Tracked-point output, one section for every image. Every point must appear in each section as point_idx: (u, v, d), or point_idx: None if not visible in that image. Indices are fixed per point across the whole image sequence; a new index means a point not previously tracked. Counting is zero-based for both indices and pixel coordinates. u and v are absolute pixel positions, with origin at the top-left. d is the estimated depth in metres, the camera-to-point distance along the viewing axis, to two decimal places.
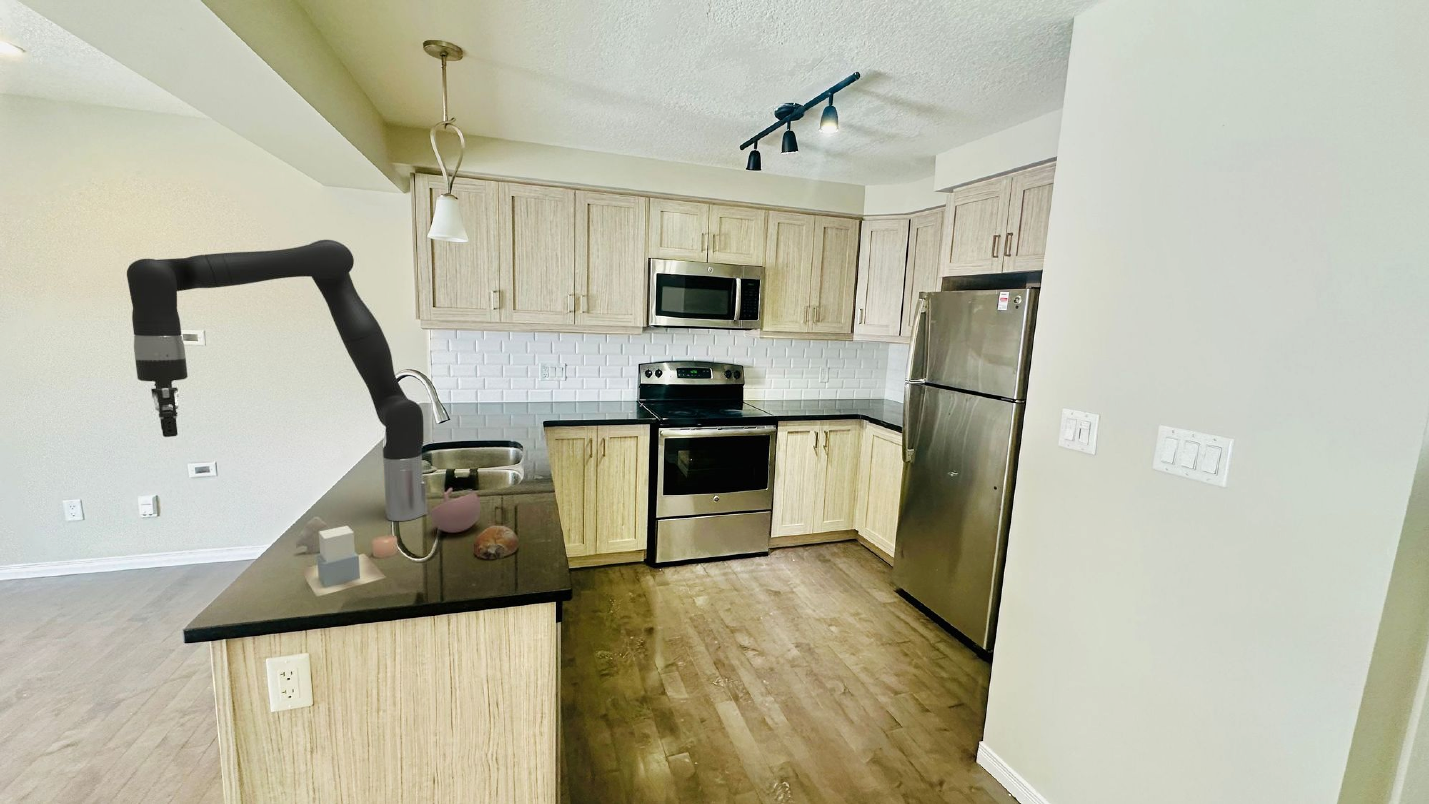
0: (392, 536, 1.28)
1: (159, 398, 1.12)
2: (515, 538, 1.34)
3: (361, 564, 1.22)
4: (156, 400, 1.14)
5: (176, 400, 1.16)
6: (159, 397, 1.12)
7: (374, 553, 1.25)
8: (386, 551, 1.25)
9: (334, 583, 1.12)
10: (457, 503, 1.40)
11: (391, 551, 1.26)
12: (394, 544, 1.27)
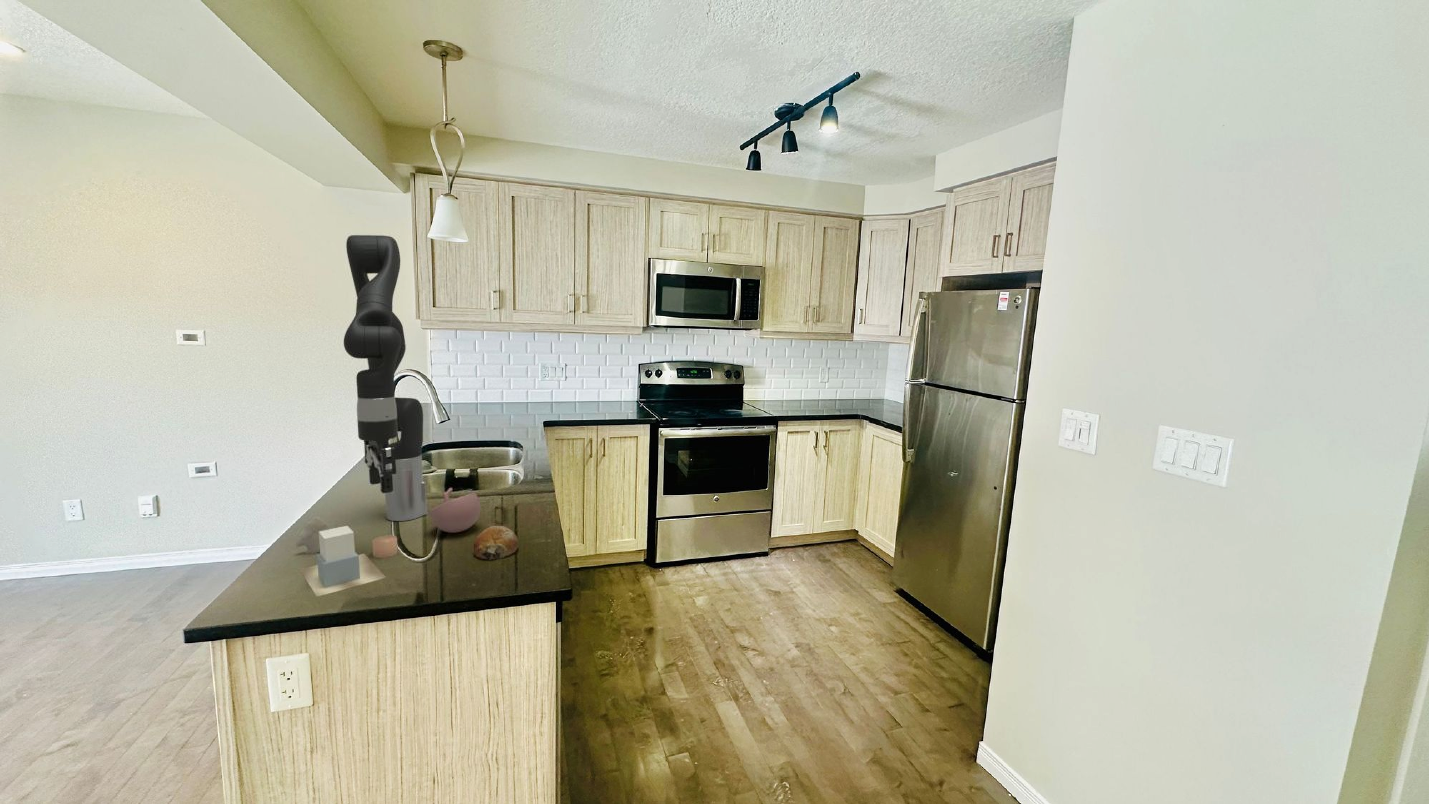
0: (392, 536, 1.28)
1: (383, 458, 1.18)
2: (515, 538, 1.33)
3: (361, 564, 1.22)
4: (376, 458, 1.21)
5: None
6: (383, 457, 1.18)
7: (374, 553, 1.25)
8: (386, 551, 1.25)
9: (334, 583, 1.12)
10: (457, 503, 1.40)
11: (391, 551, 1.26)
12: (394, 544, 1.27)
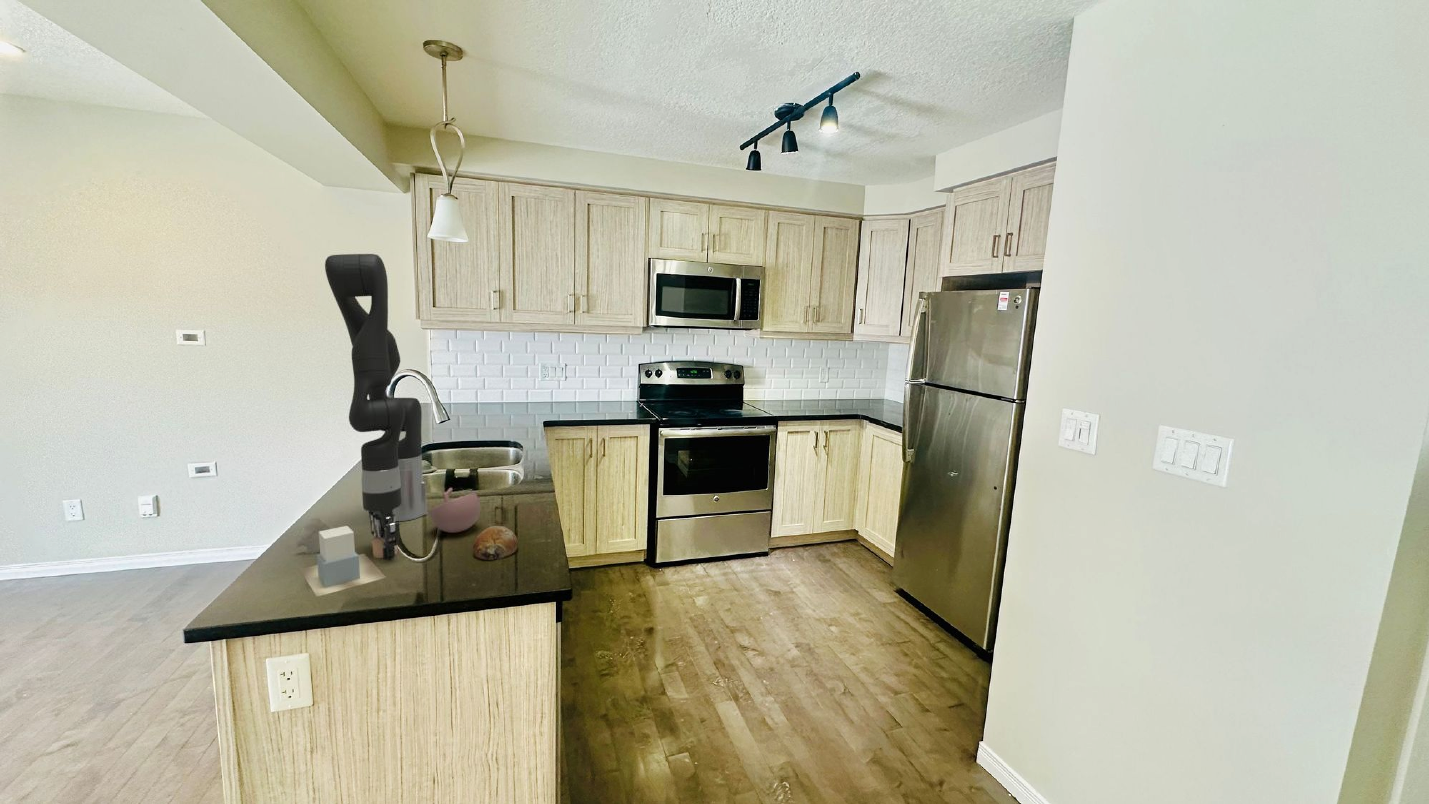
0: None
1: (387, 533, 1.21)
2: (514, 538, 1.33)
3: (361, 564, 1.22)
4: (380, 530, 1.24)
5: None
6: (387, 532, 1.21)
7: (374, 553, 1.25)
8: None
9: (334, 583, 1.12)
10: (457, 503, 1.40)
11: None
12: None
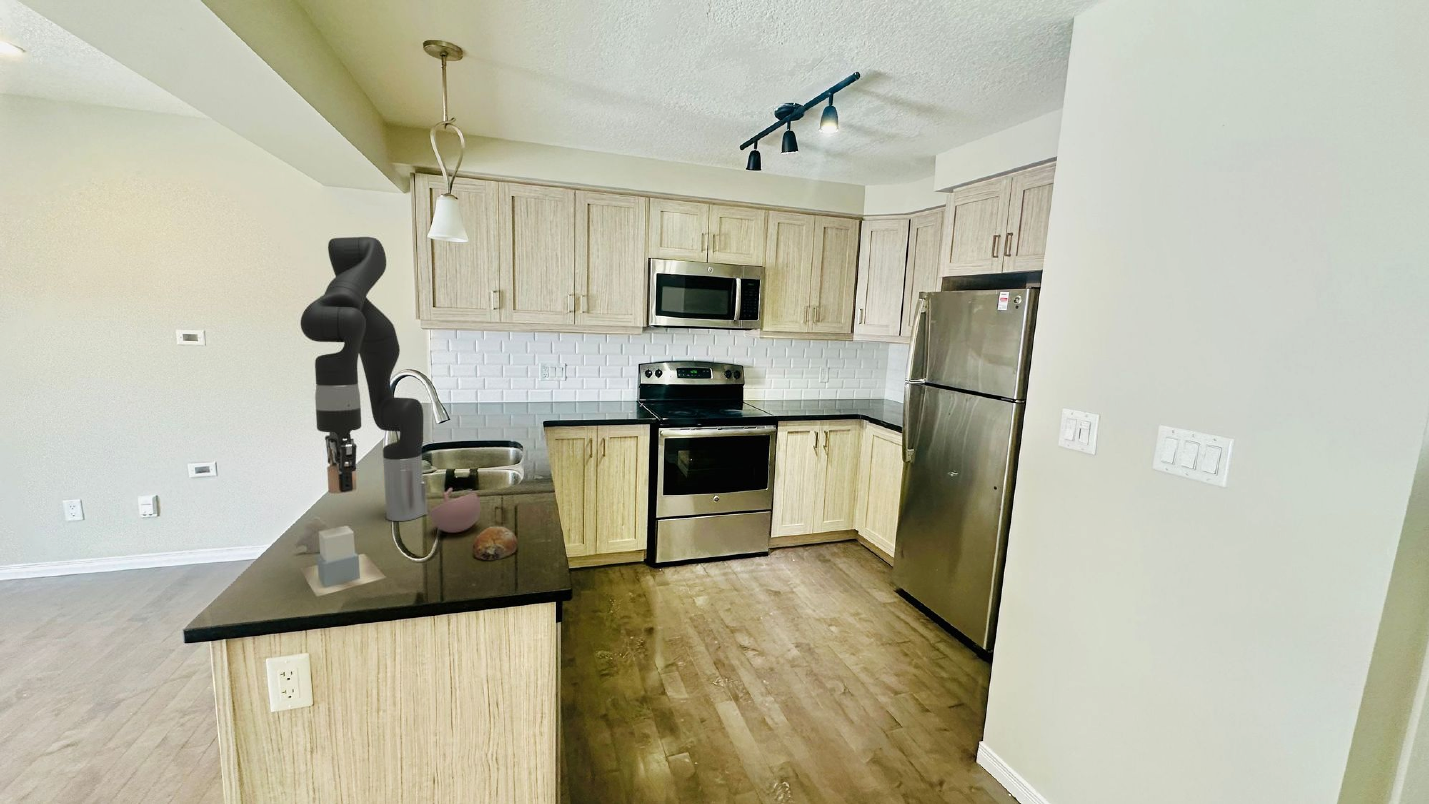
0: None
1: (343, 455, 1.08)
2: (514, 539, 1.33)
3: (361, 564, 1.22)
4: (335, 454, 1.11)
5: None
6: (343, 454, 1.08)
7: (329, 480, 1.12)
8: None
9: (334, 583, 1.12)
10: (457, 503, 1.40)
11: None
12: None
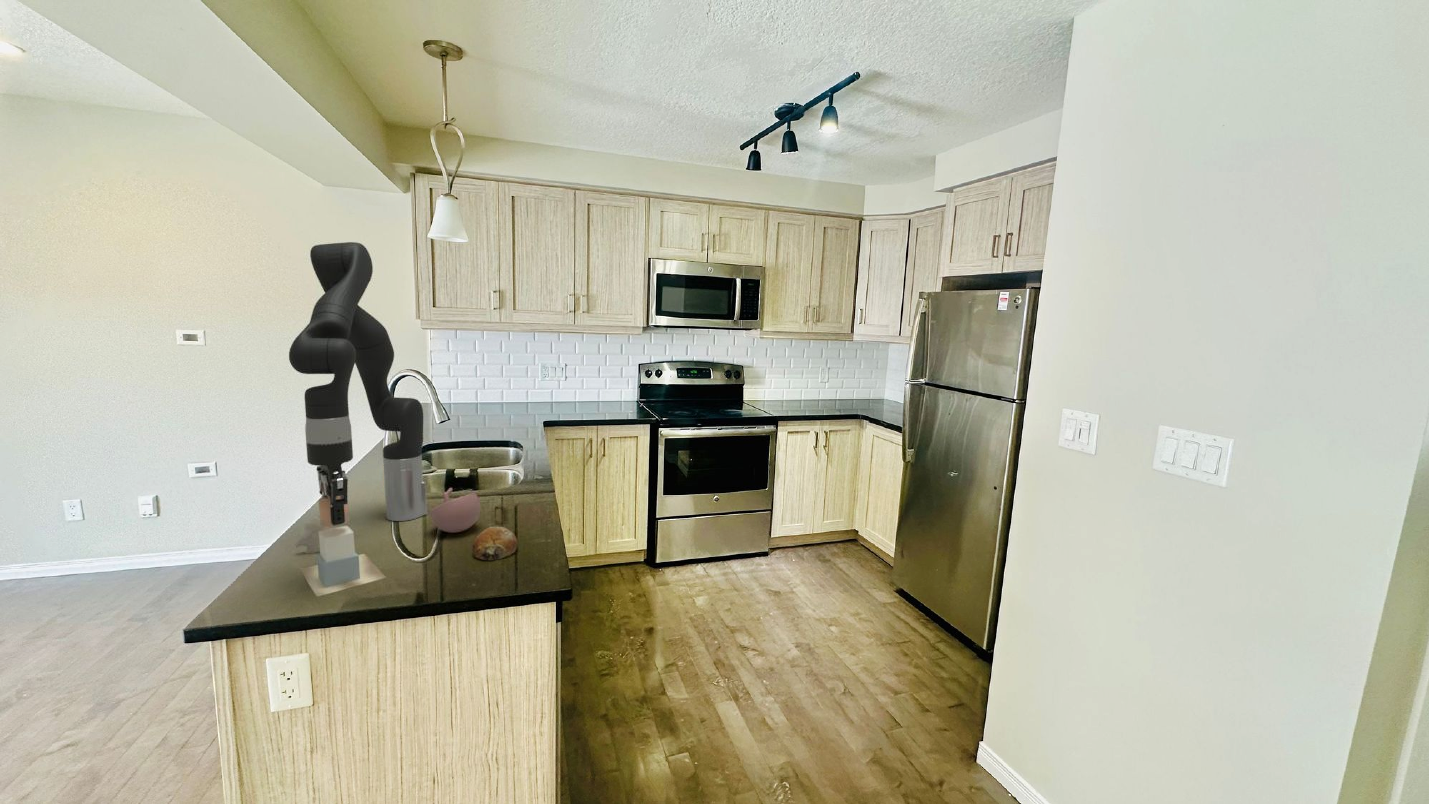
0: None
1: (334, 490, 1.07)
2: (514, 539, 1.33)
3: (361, 564, 1.22)
4: (327, 487, 1.09)
5: None
6: (334, 489, 1.07)
7: (320, 513, 1.11)
8: None
9: (334, 583, 1.12)
10: (457, 503, 1.40)
11: None
12: None
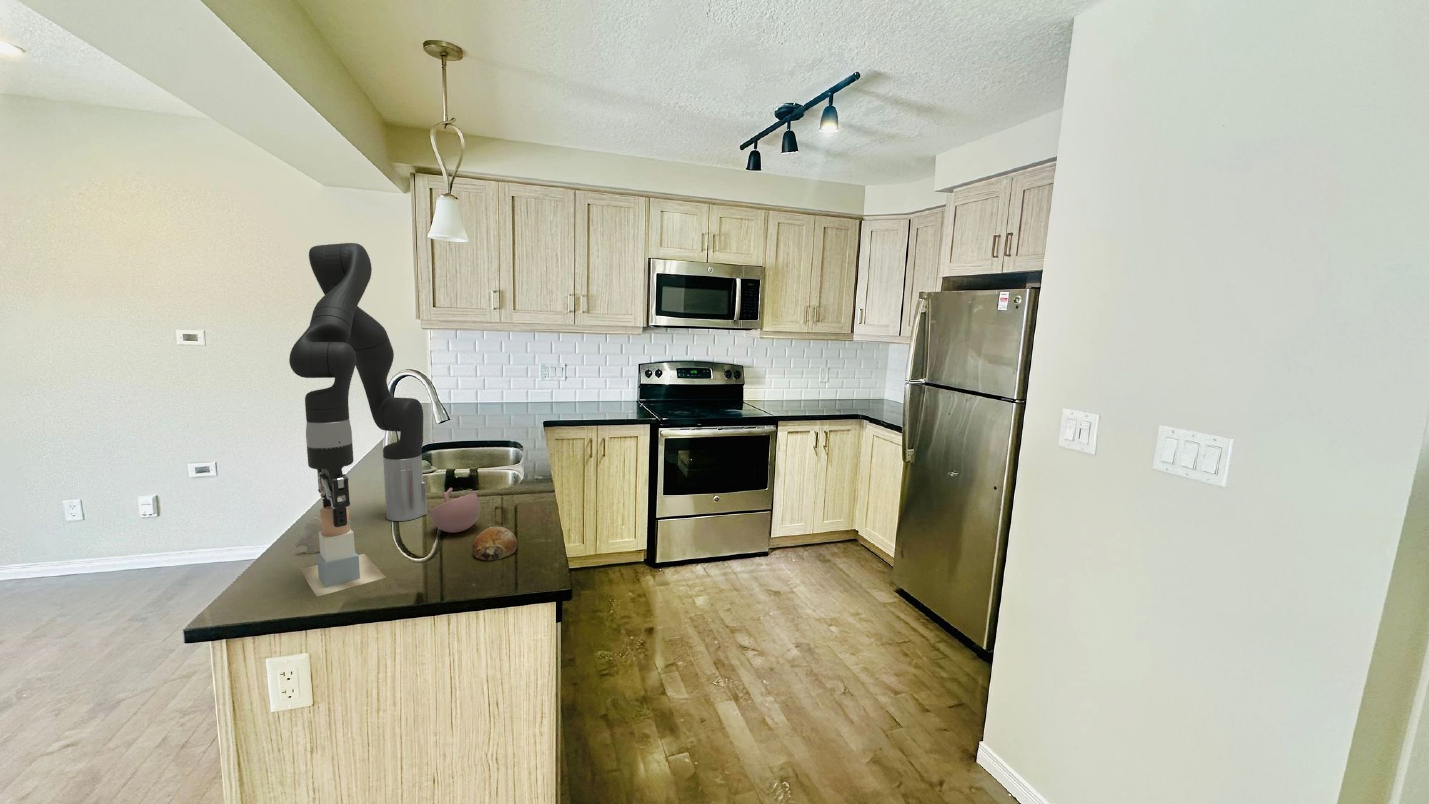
0: None
1: (335, 489, 1.07)
2: (514, 539, 1.33)
3: (361, 564, 1.22)
4: (328, 489, 1.09)
5: None
6: (335, 488, 1.07)
7: (321, 524, 1.11)
8: None
9: (334, 583, 1.12)
10: (457, 503, 1.40)
11: None
12: None
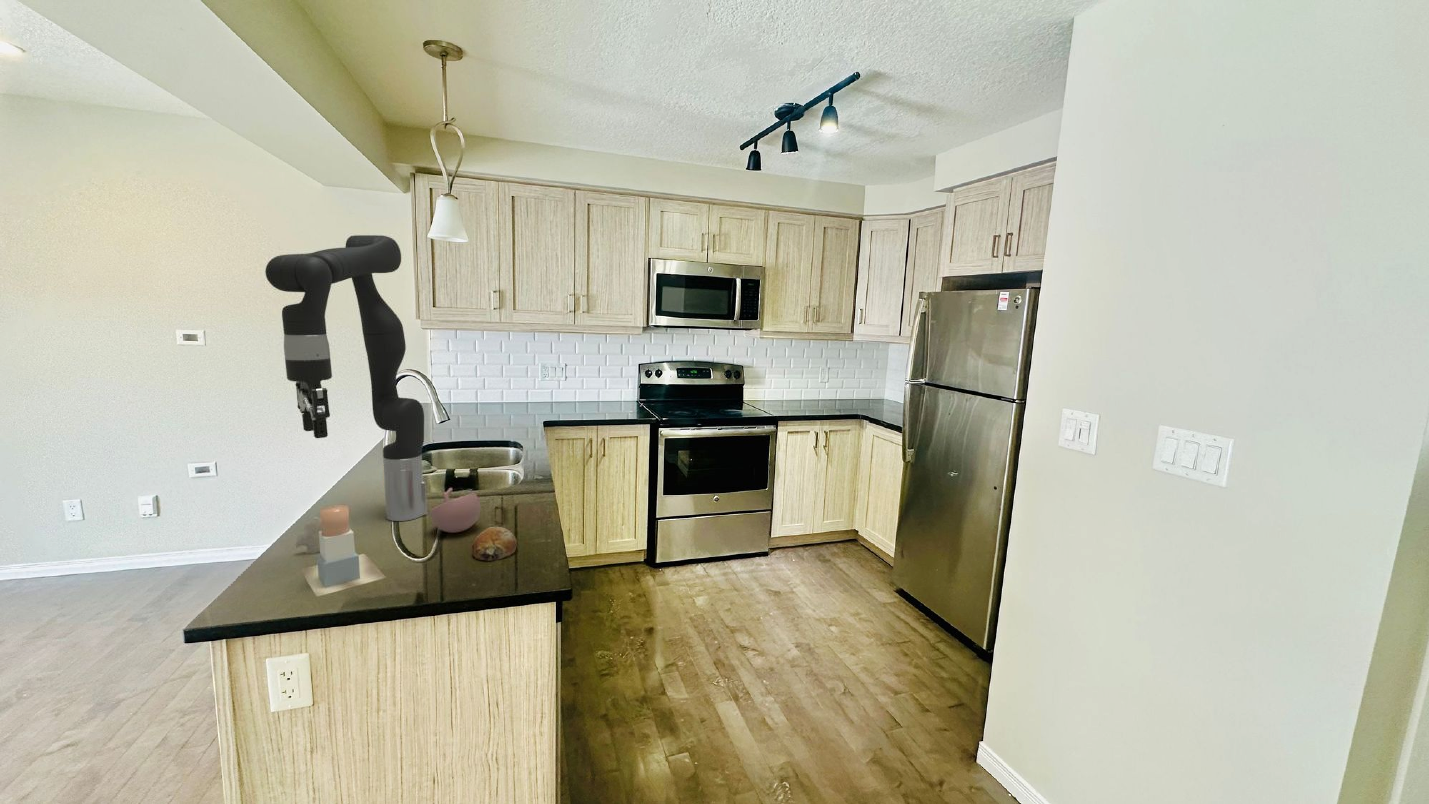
0: (343, 506, 1.14)
1: (314, 399, 1.09)
2: (513, 539, 1.33)
3: (361, 564, 1.22)
4: (307, 401, 1.12)
5: None
6: (314, 398, 1.09)
7: (321, 524, 1.11)
8: (335, 521, 1.11)
9: (334, 583, 1.12)
10: (457, 503, 1.40)
11: (341, 522, 1.12)
12: (345, 514, 1.13)
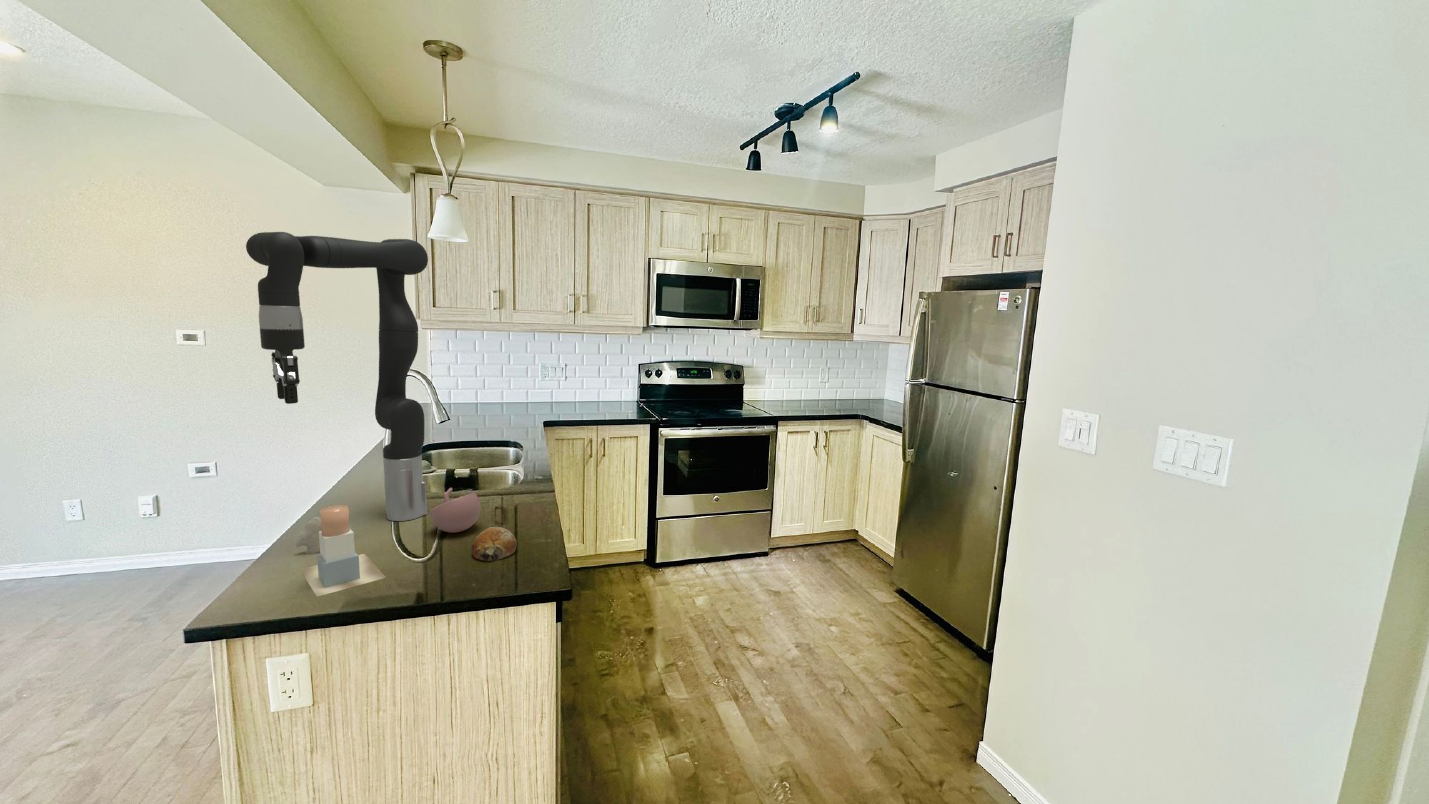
0: (343, 506, 1.14)
1: (284, 365, 1.16)
2: (513, 539, 1.33)
3: (361, 564, 1.22)
4: (279, 368, 1.19)
5: None
6: (284, 364, 1.16)
7: (321, 524, 1.11)
8: (335, 521, 1.11)
9: (334, 583, 1.12)
10: (457, 503, 1.40)
11: (341, 522, 1.12)
12: (345, 514, 1.13)
